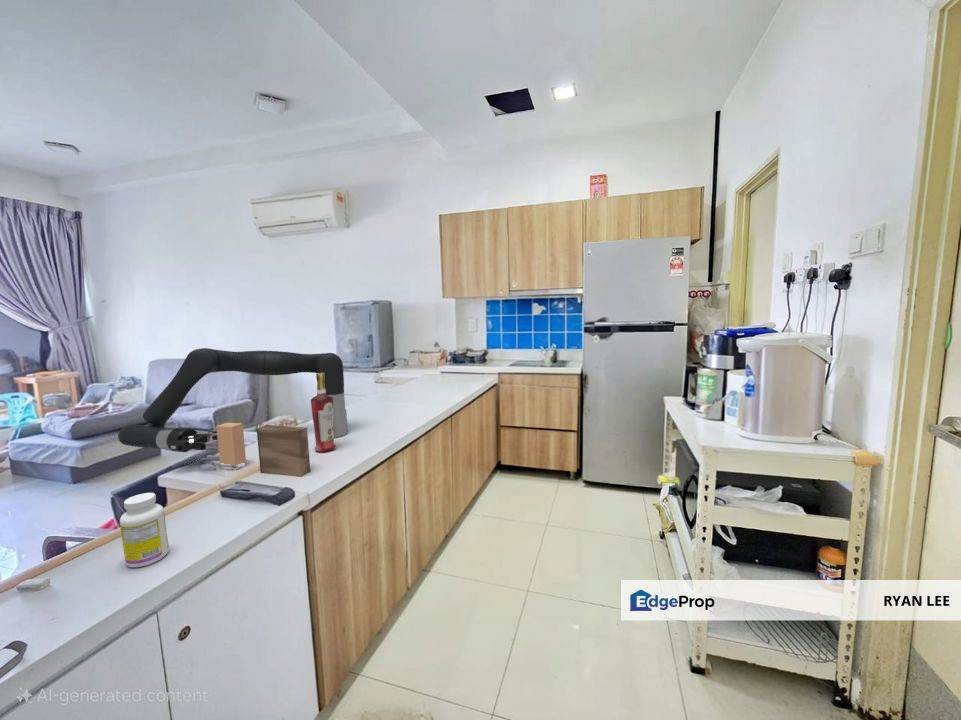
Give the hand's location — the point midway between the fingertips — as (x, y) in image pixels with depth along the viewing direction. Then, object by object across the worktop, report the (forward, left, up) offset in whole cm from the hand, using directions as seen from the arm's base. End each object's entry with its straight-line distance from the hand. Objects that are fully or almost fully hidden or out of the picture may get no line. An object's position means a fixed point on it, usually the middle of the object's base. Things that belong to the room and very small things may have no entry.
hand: (217, 442), depth 123 cm
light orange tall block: (0, +5, -8) cm, 10 cm away
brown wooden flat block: (0, +25, -8) cm, 26 cm away
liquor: (-20, +24, -9) cm, 33 cm away
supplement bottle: (+42, +28, -9) cm, 51 cm away
